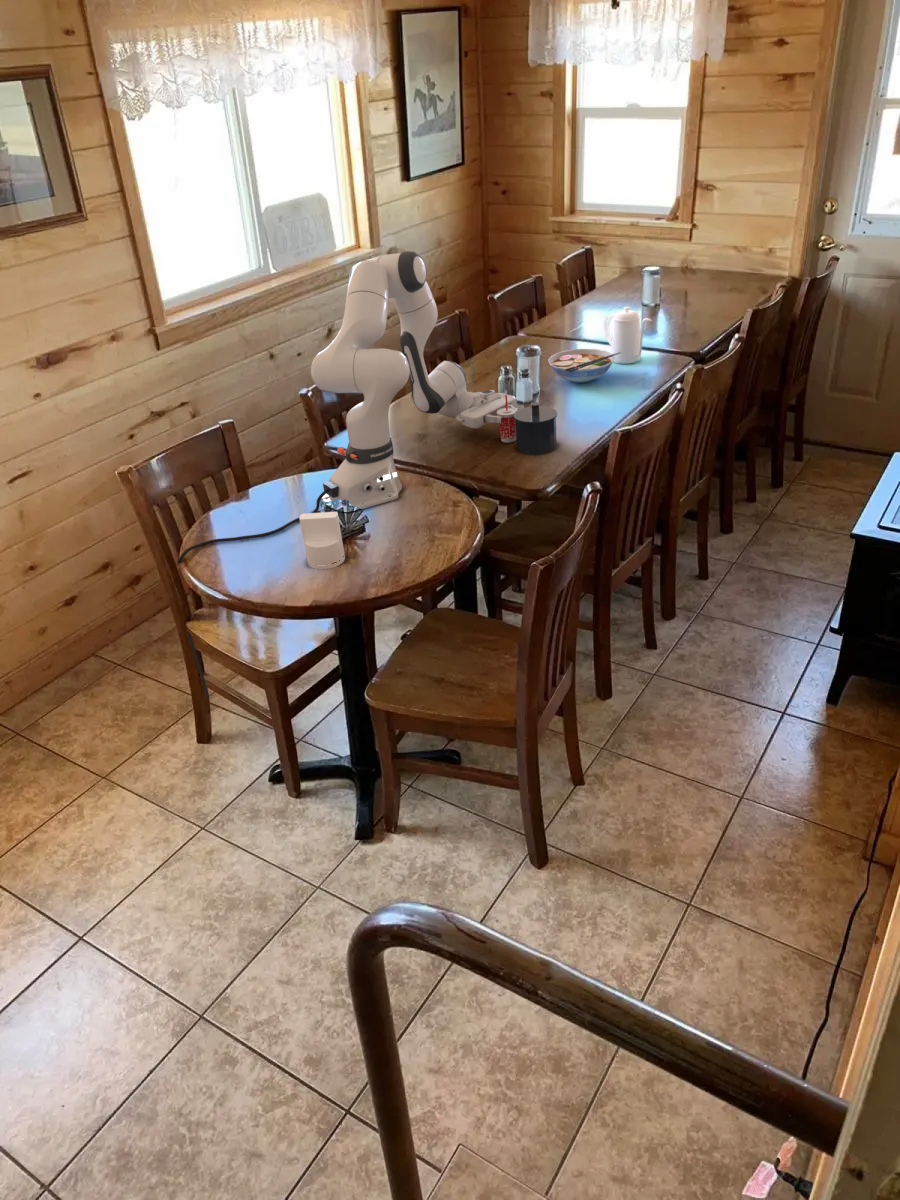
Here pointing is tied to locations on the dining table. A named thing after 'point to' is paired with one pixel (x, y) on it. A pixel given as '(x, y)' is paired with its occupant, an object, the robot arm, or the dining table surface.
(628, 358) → the coffeepot
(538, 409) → the pot lid
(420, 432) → the dining table surface
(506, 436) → the beverage cup
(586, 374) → the ramen bowl
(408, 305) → the robot arm
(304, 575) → the dining table surface
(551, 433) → the pot
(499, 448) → the dining table surface
